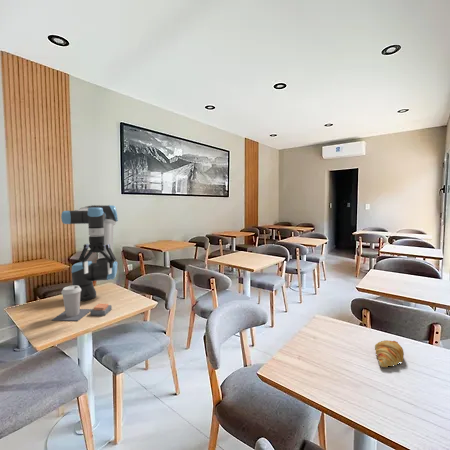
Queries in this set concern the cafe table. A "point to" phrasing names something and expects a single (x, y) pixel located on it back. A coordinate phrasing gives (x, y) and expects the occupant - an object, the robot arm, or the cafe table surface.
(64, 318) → the mat
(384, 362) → the croissant
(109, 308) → the button housing
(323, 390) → the cafe table surface
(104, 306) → the button
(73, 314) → the coffee cup
